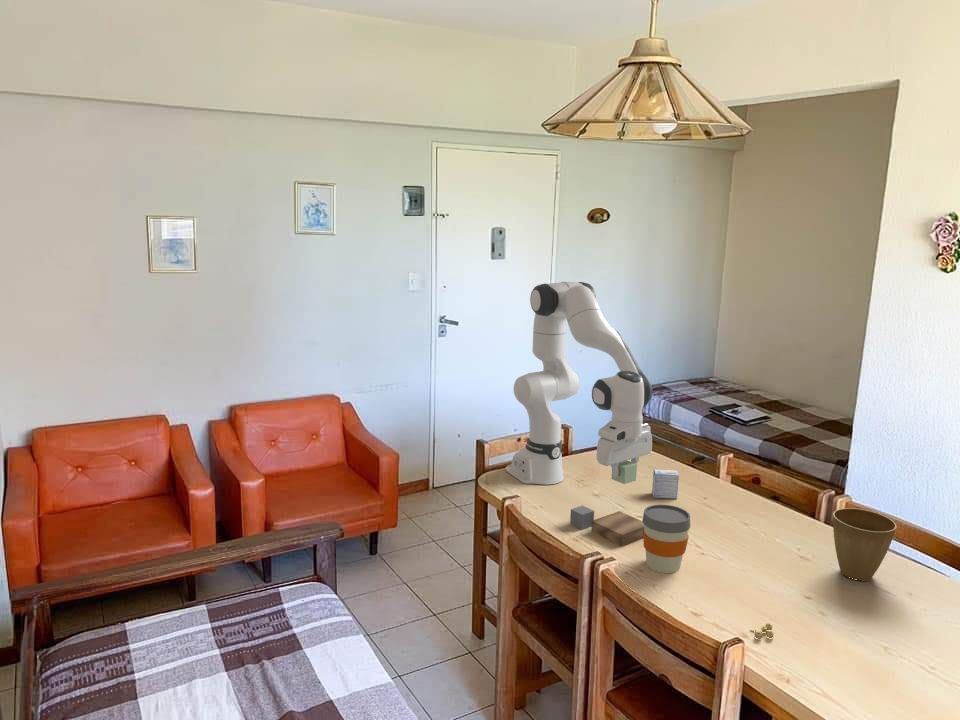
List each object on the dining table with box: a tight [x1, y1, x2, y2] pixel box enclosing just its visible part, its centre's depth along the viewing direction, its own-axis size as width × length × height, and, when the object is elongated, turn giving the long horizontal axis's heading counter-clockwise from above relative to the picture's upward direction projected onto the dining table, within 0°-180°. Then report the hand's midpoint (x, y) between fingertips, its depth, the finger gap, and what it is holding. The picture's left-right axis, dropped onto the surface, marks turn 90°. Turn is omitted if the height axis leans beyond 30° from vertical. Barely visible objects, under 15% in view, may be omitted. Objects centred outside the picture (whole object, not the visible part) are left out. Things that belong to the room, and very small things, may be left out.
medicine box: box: [651, 469, 680, 500], centre depth 247 cm, size 8×4×9 cm, turn 84°
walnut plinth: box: [590, 510, 644, 548], centre depth 219 cm, size 12×12×4 cm
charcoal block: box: [569, 505, 595, 531], centre depth 224 cm, size 5×5×5 cm
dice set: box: [753, 623, 774, 640], centre depth 169 cm, size 5×5×2 cm
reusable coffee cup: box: [642, 504, 691, 574], centre depth 199 cm, size 12×13×15 cm
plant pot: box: [832, 507, 898, 581], centre depth 196 cm, size 15×15×16 cm
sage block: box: [611, 460, 638, 485], centre depth 215 cm, size 5×5×5 cm
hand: (623, 473), depth 215 cm, fingers closed on sage block, 5 cm apart
